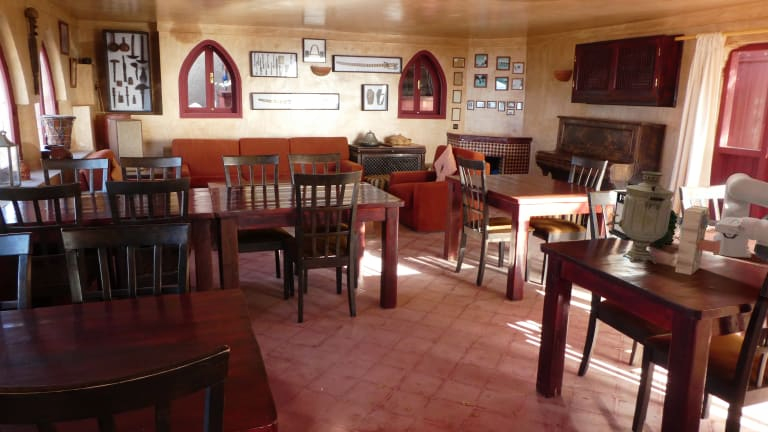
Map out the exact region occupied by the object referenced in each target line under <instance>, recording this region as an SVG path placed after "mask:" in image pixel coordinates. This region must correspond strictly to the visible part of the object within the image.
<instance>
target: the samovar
mask: <svg viewBox="0 0 768 432" xmlns="http://www.w3.org/2000/svg"><path fill="white" fill-rule="evenodd" d="M641 173H642V174H643V175H642V180H643V181H644V182H638V183H639V184H638V185H630V186H628V185H626V186H625V191H627V195H626V196H624V205H623V212H622V218H621V220H620V221H619V222H615V216H619V215H618V214H616V213H615V212H612V213H610V216H612V217H613V218H612V220H611V221H608V222H607V223H606V224H605V226H610V225H611V226H612V227H613V225H614V224H619V227H621V229H622V231H623V232H624V233H625V234H626V235H627V236H628V237H629V238H631V239H633V240H632V244H633V246H634V248H631V249H630V250H628V251H627V253H624V254H623V255H622V257H627V256H628V257H630V260H629V262H630V263H635V261H637V260H639V259H640V260H649V261H650V262H653V264H655V265H656V264H657V261H656V260H654V257H653V254H652V253H651V252H650V250H648V248H649V247H650V246H651V245H650V244H651V243H653V241H656V240H658V239H660V238H662V237H663V236H664V235H665V234H666V233H667V230H668V224H669V218H670V213H671V210H672V207H673V202H672V201H673V200H672V198H673V197H674V195H675V192H674V191H672V190H671V189H667V188H664V187H663V185H661V184H659V182H660V181H661V177H662V176H664V175H665V174H664V173H662V172H656V171H655V172H654V171H641Z"/></svg>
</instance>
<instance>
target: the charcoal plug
mask: <svg viewBox="0 0 768 432" xmlns="http://www.w3.org/2000/svg"><path fill="white" fill-rule="evenodd" d="M681 216H682V222H681V223H682V224H683V217H684V213H683V214H682V215H681ZM709 220H710V213H709V214H706V215H704V216H703V219H702V225H701V229H706V230H707V228H708V226H709V225H707V221H709Z"/></svg>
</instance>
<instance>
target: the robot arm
mask: <svg viewBox="0 0 768 432" xmlns="http://www.w3.org/2000/svg"><path fill="white" fill-rule="evenodd" d="M751 204H753V205H757V206H761V207H763V208H766V209H768V182H766V181H763V180H759V179H755V178H752V177H750V176H749V175H748V174H746V173H741V172H739V173H734V174H732V175H730V176H729V177H728V178H727V180H726V183H725V190H724V196H723V203H722V210H721V216H720V220H719V219H718V220H716V219H714V220H713V219H709V221H707V225H708V226H712V227H715V228H714V231H715V232H716V233H714V234H713V236H712V241H717V240H721V245H720V251H719V253H718V254H717V255H721V256H725V257H732V258H748V259H749V258H752V254H751V250H750V246H749V242H750V241H755V245H754V249H753V252H754V253H755V255H756V256H757V258H758V259H761V260H764V261H768V214H766V215H765V216H763V217H762V218H761V219H759V218H755V217H749V216H750V210H751Z"/></svg>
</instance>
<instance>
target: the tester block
mask: <svg viewBox="0 0 768 432" xmlns="http://www.w3.org/2000/svg"><path fill="white" fill-rule="evenodd" d="M683 212H684V213H683V214H684V217H683V224H682V230H681V234H680V240H679V245H678V252H677V258H676V264H675V271H674V272H675V273H679V274H684V275H689V276H691V275H692V274H694V273H695V272H697V271H698V270H700V267H701V262H702V256H703V250H698V244H699V240H700V239H704V240H706V239H705V238H706V231H707V228H706V229H701V225H702V219H703V216H704V215H706V214H709V215H710V213H709V212H710V207H708V206H700V205H692V206H690V207H688V208H685V209H684V211H683Z"/></svg>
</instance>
